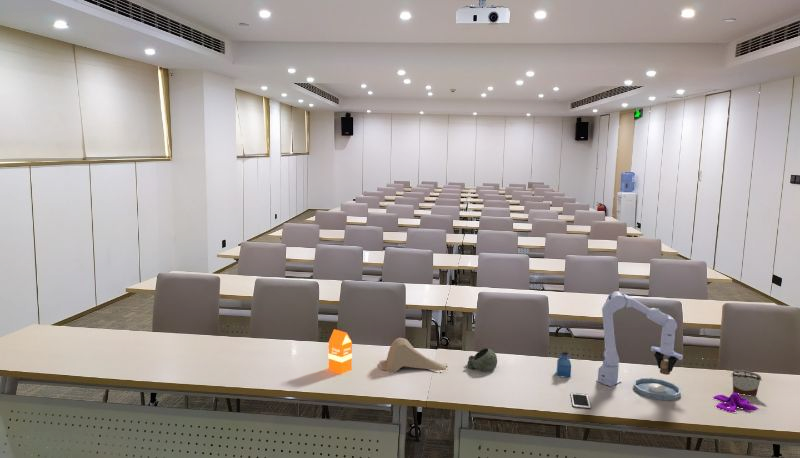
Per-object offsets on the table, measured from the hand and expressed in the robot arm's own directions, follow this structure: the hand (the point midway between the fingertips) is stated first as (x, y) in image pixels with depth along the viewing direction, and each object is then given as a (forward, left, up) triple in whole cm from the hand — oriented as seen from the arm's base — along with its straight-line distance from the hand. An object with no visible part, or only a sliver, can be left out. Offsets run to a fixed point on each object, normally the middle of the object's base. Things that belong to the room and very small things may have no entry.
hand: (665, 369), depth 271 cm
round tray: (-7, 0, -9) cm, 11 cm away
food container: (+26, -24, -9) cm, 37 cm away
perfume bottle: (-28, +37, -9) cm, 47 cm away
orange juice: (-118, +103, -9) cm, 156 cm away
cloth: (+9, -29, -10) cm, 32 cm away
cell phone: (-47, +13, -10) cm, 49 cm away
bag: (-84, +86, -10) cm, 121 cm away
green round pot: (-56, +66, -9) cm, 87 cm away
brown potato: (0, 0, -2) cm, 2 cm away
